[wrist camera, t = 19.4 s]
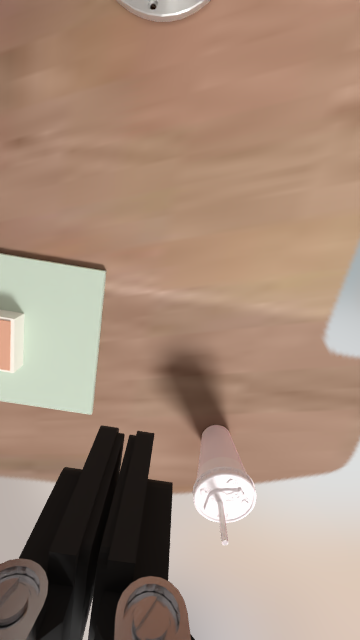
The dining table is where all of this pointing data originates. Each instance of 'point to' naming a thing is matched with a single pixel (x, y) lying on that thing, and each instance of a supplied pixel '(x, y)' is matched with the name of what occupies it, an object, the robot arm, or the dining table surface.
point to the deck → (11, 340)
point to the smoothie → (222, 481)
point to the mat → (53, 332)
